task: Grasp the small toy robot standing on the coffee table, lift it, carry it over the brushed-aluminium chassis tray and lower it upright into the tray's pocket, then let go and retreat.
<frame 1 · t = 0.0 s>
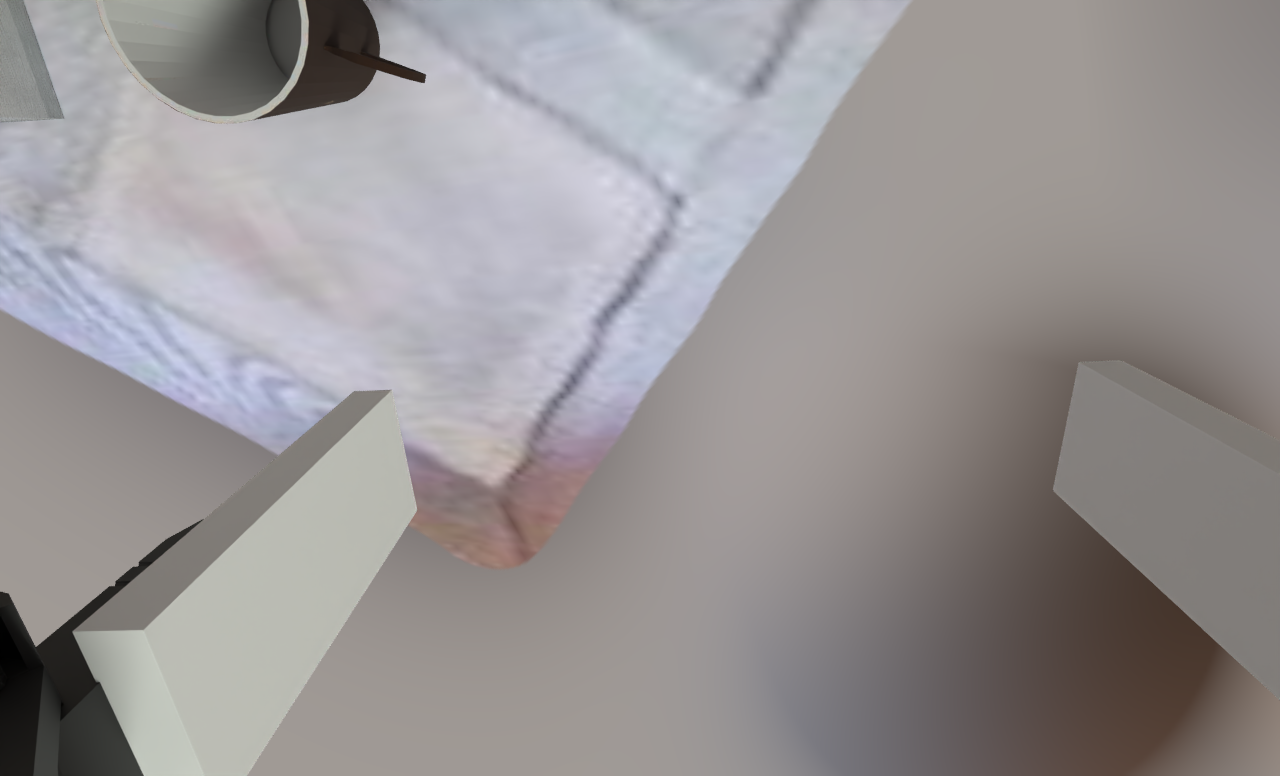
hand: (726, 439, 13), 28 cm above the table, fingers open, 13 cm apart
coffee mug: (346, 61, 36), on the table
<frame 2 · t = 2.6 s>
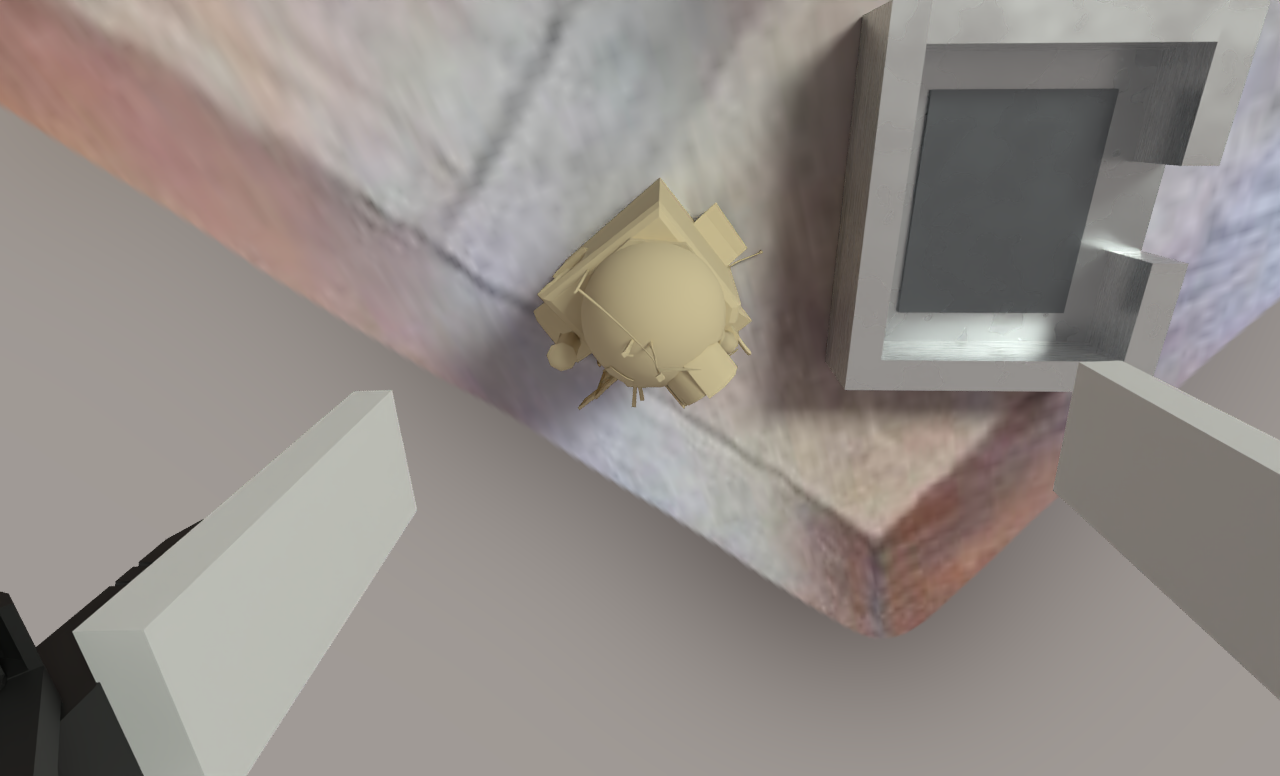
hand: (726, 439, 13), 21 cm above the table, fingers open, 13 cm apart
chassis: (989, 204, 31), on the table
robot: (654, 284, 33), on the table
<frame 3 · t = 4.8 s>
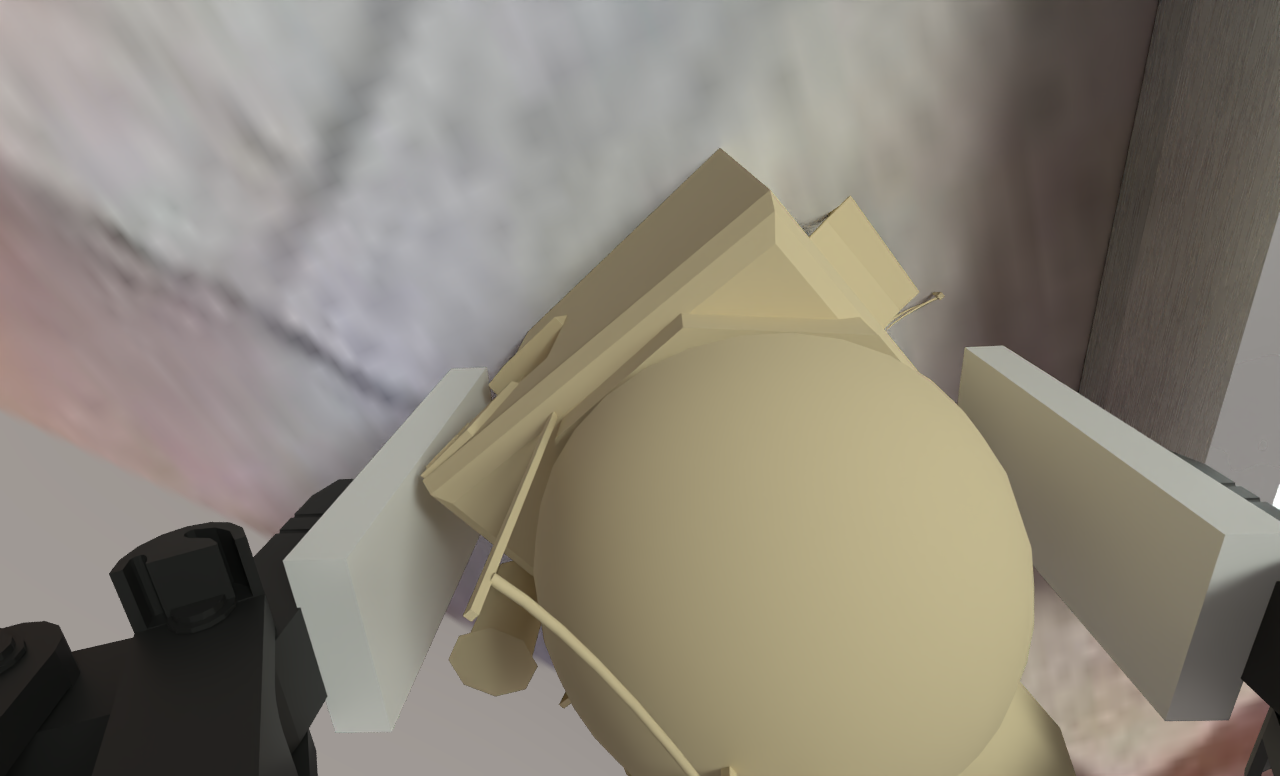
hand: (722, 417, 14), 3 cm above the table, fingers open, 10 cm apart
robot: (712, 369, 17), on the table, touching gripper
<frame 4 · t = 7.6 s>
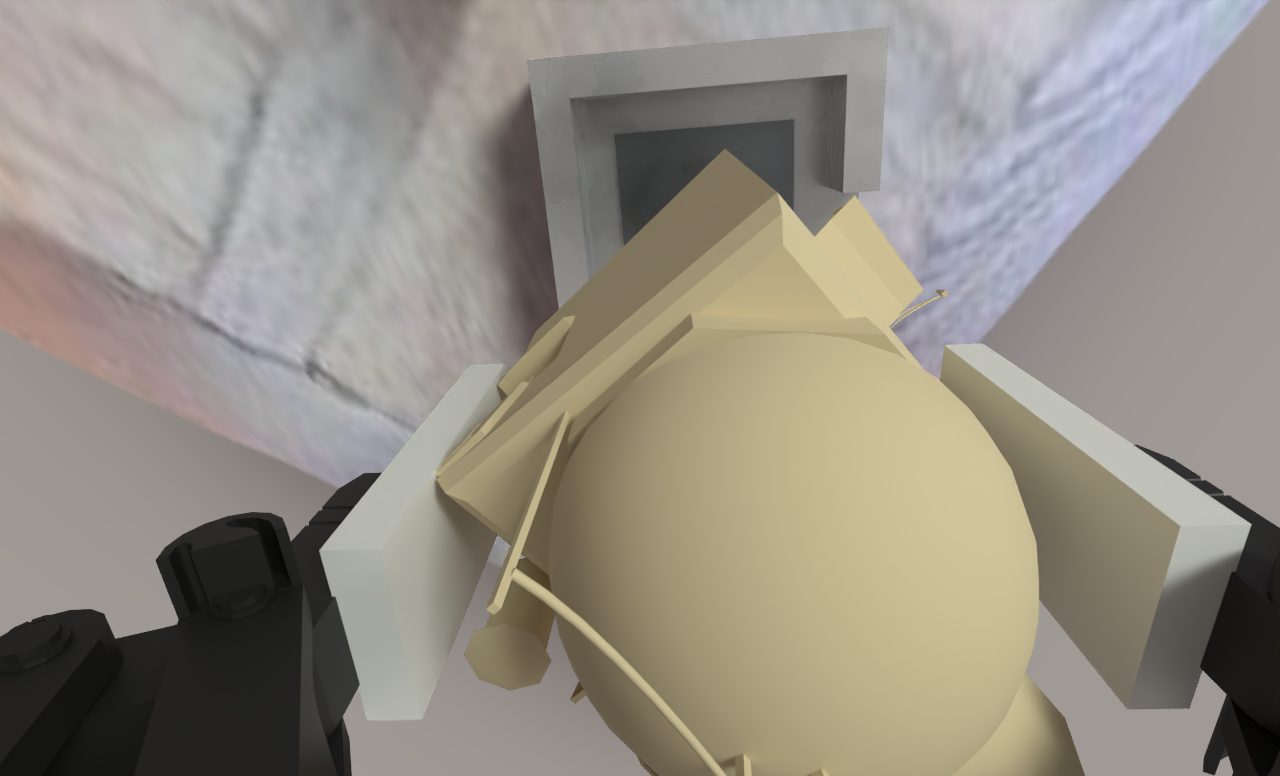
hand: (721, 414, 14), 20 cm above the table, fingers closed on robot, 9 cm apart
chassis: (706, 236, 32), on the table
robot: (718, 368, 17), point 17 cm above the table, touching gripper
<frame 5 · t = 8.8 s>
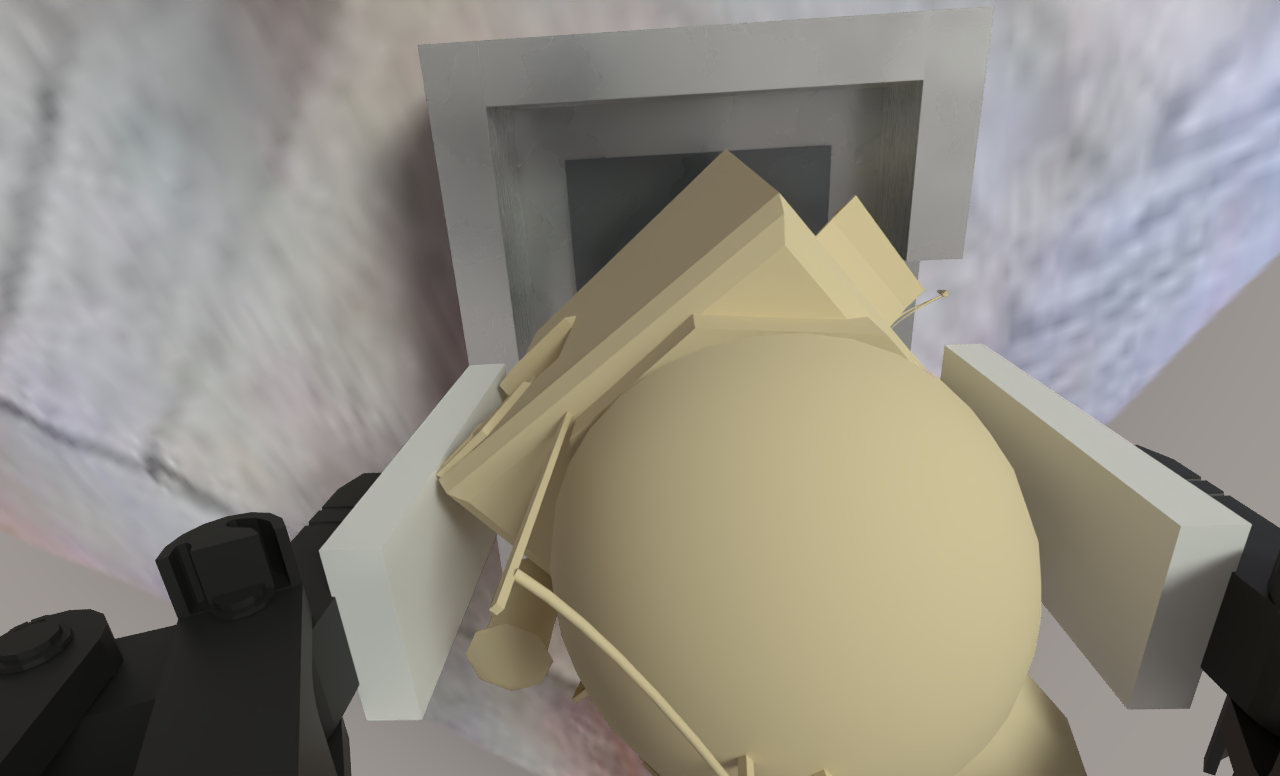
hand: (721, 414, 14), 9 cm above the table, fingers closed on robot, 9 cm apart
chassis: (698, 305, 23), on the table
robot: (719, 368, 17), point 6 cm above the table, touching gripper
when the fingers open (5 cm above the table, at t = 9.9 s): robot stays where it is, resting on chassis.
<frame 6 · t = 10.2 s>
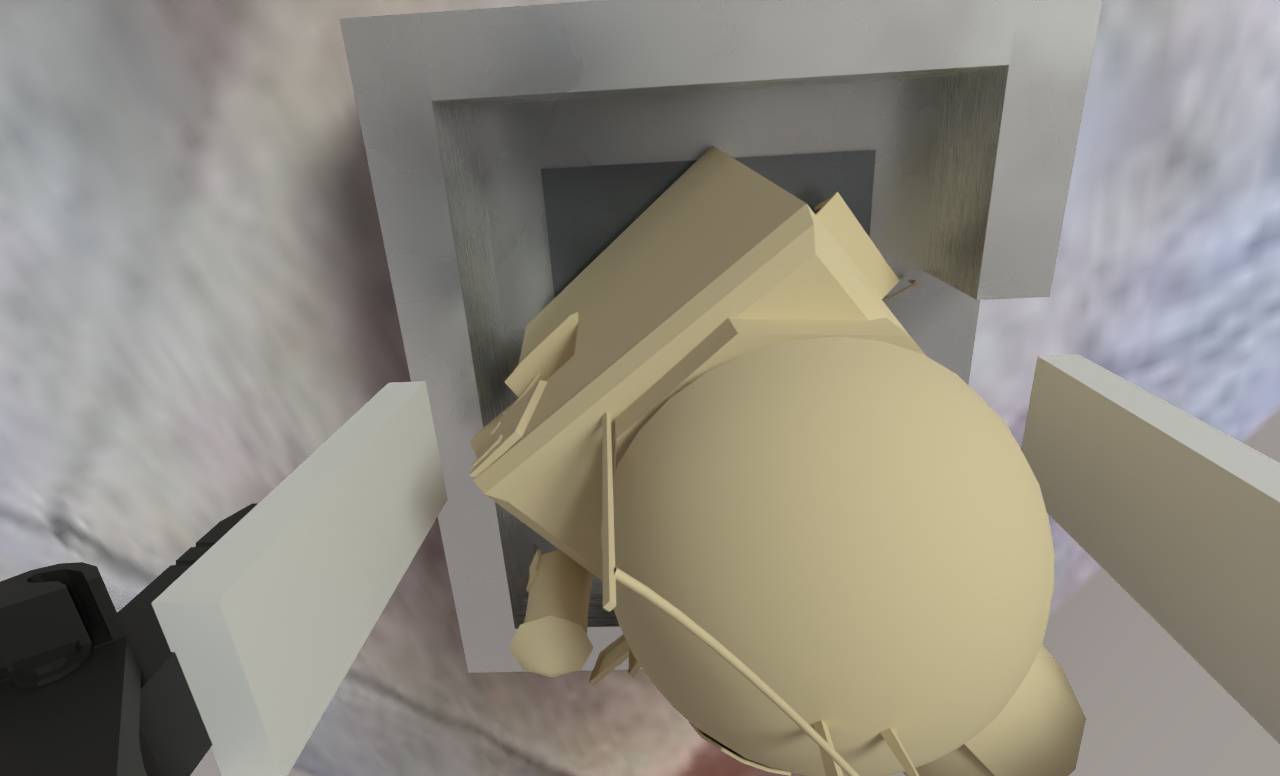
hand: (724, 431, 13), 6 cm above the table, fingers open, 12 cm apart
chassis: (706, 343, 19), on the table
robot: (704, 357, 17), point 1 cm above the table, touching chassis
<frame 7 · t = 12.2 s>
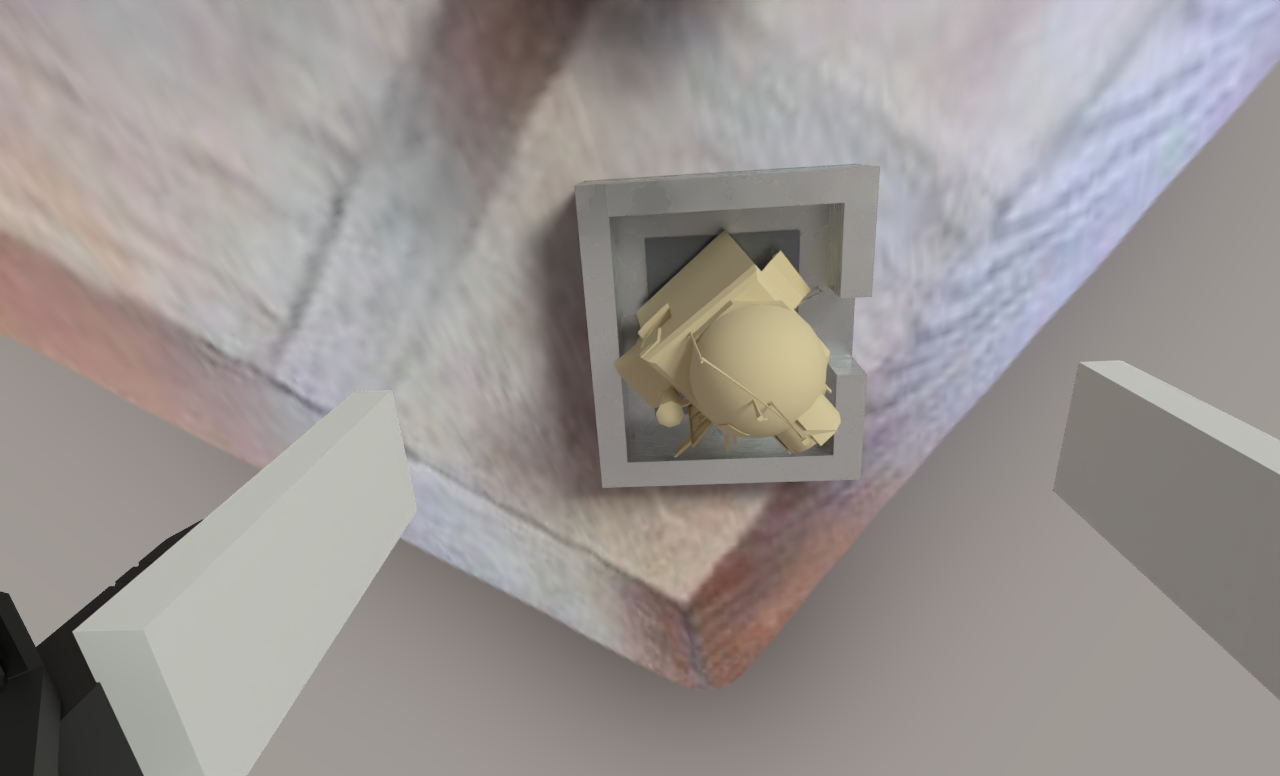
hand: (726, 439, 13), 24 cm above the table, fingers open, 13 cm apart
chassis: (721, 322, 37), on the table
robot: (721, 328, 35), point 1 cm above the table, touching chassis
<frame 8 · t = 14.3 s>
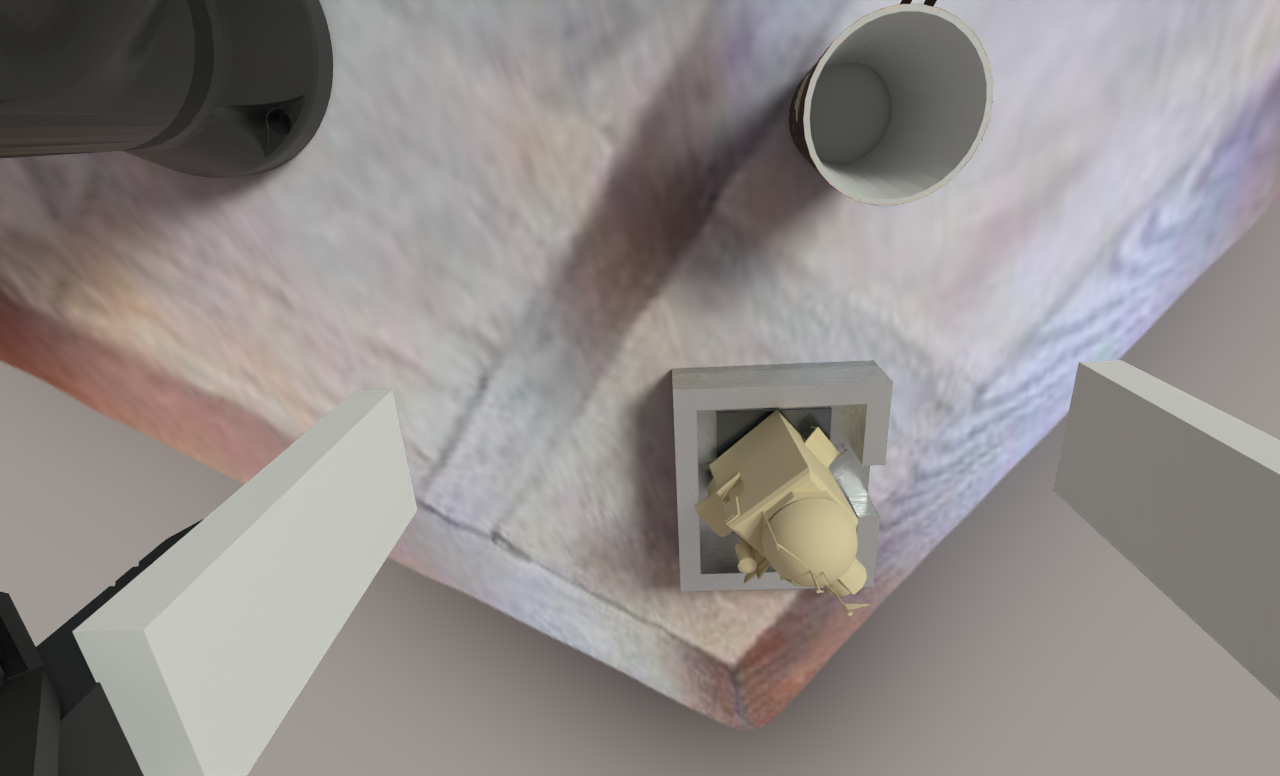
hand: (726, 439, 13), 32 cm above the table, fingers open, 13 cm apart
chassis: (770, 466, 49), on the table
robot: (770, 474, 47), point 1 cm above the table, touching chassis
coffee mug: (860, 94, 39), on the table
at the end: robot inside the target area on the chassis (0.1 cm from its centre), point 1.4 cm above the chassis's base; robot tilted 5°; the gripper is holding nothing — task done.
